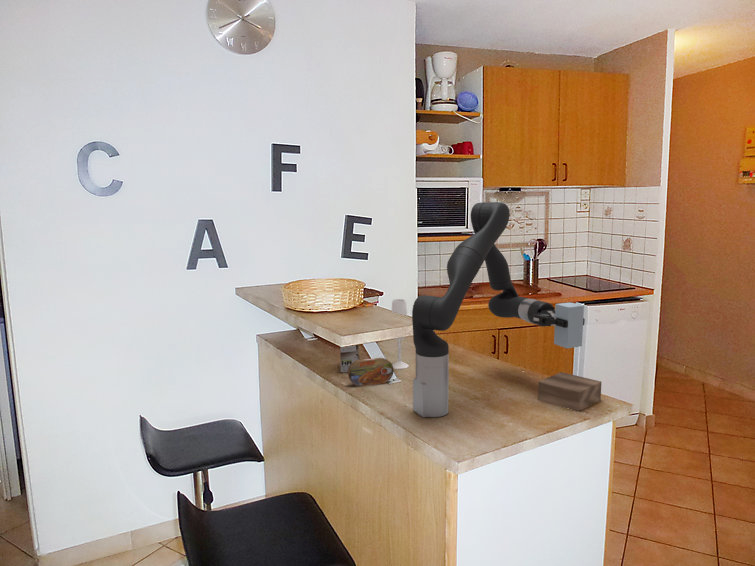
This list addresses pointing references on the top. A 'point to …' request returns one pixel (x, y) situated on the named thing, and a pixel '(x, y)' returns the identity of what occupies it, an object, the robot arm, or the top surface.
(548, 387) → the walnut block
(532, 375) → the top surface
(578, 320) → the slate block
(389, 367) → the tin
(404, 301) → the champagne flute
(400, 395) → the top surface
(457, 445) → the top surface
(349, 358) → the coffee box
